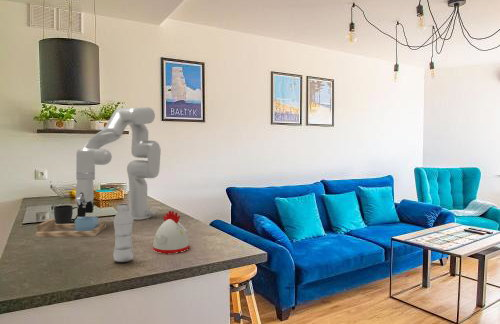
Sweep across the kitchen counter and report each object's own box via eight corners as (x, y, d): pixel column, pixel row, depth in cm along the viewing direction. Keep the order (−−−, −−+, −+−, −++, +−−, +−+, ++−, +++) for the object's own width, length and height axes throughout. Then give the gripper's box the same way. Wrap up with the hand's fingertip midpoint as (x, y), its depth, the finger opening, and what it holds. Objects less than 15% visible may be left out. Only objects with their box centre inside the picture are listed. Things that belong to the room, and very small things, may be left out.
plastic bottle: (116, 258, 129) (115, 203, 127) (135, 258, 129) (135, 203, 128) (110, 264, 122) (110, 206, 121) (131, 264, 123) (130, 206, 122)
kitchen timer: (171, 256, 132) (171, 216, 131) (145, 250, 139) (145, 212, 138) (196, 247, 143) (196, 210, 143) (171, 242, 151) (171, 206, 150)
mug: (80, 226, 176) (80, 207, 176) (53, 228, 172) (52, 208, 171) (81, 222, 184) (81, 204, 183) (55, 224, 179) (54, 205, 179)
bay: (105, 229, 170) (105, 217, 170) (95, 238, 154) (95, 224, 154) (52, 230, 168) (52, 217, 167) (36, 239, 152) (35, 225, 151)
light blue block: (98, 229, 165) (97, 216, 165) (93, 233, 159) (93, 219, 159) (79, 230, 164) (79, 216, 164) (75, 233, 158) (74, 219, 158)
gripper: (83, 175, 168) (83, 211, 169) (69, 177, 151) (69, 218, 151) (100, 175, 169) (100, 211, 169) (87, 178, 152) (87, 218, 152)
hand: (85, 214), depth 160 cm, fingers open, 9 cm apart
